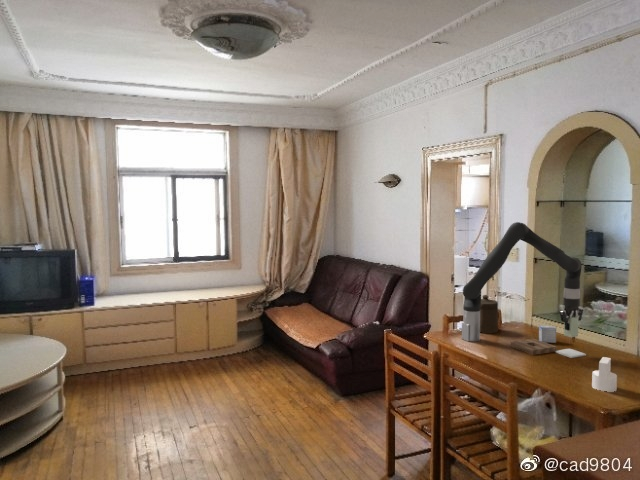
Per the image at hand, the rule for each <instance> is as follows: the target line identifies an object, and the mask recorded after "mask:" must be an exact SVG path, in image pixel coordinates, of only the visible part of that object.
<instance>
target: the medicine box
mask: <svg viewBox="0 0 640 480" xmlns="http://www.w3.org/2000/svg"><path fill="white" fill-rule="evenodd" d="M538 340H539V341H542V342H545V343H548V344H550V343H551V344H552V343H554V344H555V343H557V327H555V326H554V325H539V326H538Z"/></svg>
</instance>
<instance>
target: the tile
mask: <svg viewBox="0 0 640 480" xmlns="http://www.w3.org/2000/svg"><path fill="white" fill-rule="evenodd" d="M554 353H556V354H559V355H561V356H564V357H568V358H570V359H573V358H579V357H585V356H587V353H584V352H581V351H578V350H576V349H572V348H565V349H557V351H555V352H554Z"/></svg>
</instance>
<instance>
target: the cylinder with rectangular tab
mask: <svg viewBox="0 0 640 480" xmlns="http://www.w3.org/2000/svg"><path fill="white" fill-rule="evenodd" d="M611 360H612V359H611V357H606V356H602V358H601V359H600V360H599V362H598V370H597V369H596V370H594V371H593V370H592V373H591V375H592V376H591V379H592V380H591V387H592V388H593V389H594V390H596V389H597V391H599V390H601V391H600V392H604V391H607V392H606V393H615V392H617V390H618V389H617V387H618V385H617V384H618V375H617V374H616V373H614V372H612V371H611V364H612V363H611V362H612V361H611ZM614 391H615V392H614Z"/></svg>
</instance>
